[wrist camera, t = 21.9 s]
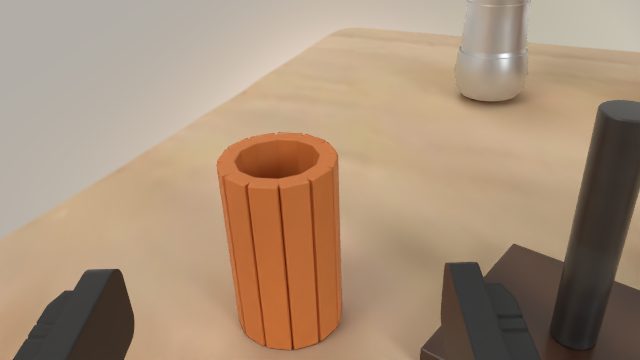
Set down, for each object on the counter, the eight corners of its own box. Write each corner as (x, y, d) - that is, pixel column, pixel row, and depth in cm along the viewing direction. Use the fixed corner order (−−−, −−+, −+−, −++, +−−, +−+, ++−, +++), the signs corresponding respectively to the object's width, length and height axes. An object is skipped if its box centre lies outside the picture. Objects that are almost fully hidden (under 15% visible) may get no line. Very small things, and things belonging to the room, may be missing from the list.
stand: (511, 257, 32) (544, 52, 26) (714, 335, 27) (815, 96, 21) (419, 364, 26) (435, 123, 20) (662, 499, 20) (787, 217, 14)
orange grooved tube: (288, 267, 32) (275, 123, 28) (361, 305, 29) (360, 151, 25) (219, 318, 29) (192, 163, 24) (294, 367, 26) (279, 201, 21)
